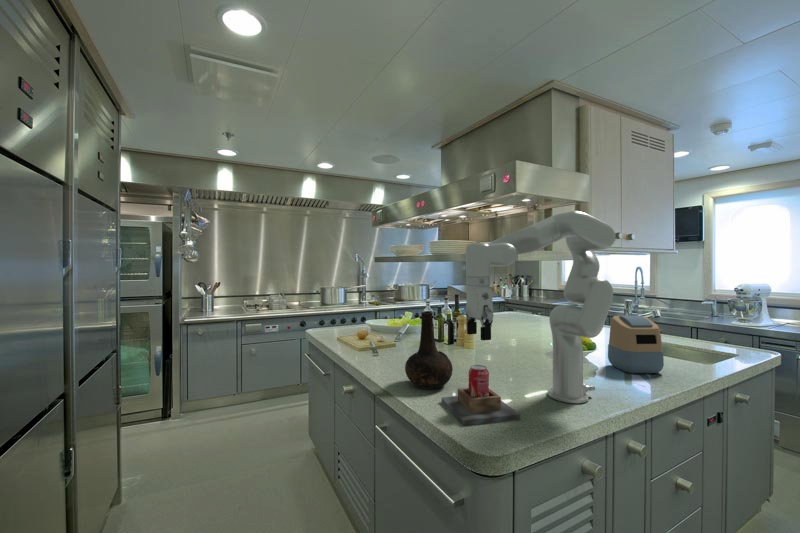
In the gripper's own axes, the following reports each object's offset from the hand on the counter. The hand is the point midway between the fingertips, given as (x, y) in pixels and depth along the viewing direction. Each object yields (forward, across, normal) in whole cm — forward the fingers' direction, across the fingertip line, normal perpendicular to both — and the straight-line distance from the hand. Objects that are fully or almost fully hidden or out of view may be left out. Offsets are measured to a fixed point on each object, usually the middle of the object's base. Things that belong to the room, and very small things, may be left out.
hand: (478, 336), depth 110 cm
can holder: (+23, 0, 0) cm, 23 cm away
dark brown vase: (+23, +26, +8) cm, 36 cm away
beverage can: (+22, 0, 0) cm, 22 cm away
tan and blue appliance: (+24, +24, -86) cm, 92 cm away
